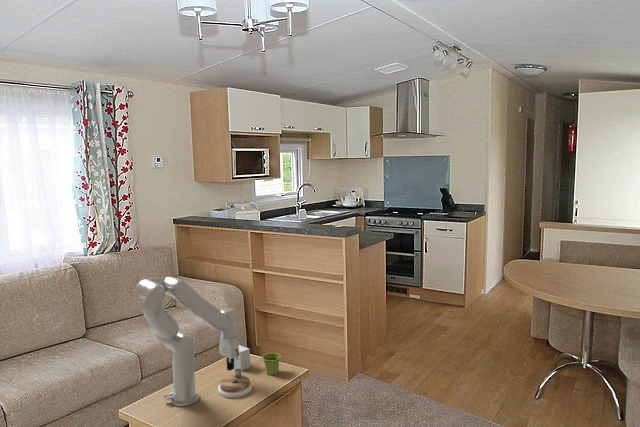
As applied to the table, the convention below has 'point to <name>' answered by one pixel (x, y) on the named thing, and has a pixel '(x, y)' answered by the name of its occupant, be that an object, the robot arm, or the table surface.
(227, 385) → the dial
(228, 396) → the stand
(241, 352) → the skincare box
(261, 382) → the table surface
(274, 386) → the table surface
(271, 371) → the plant pot
